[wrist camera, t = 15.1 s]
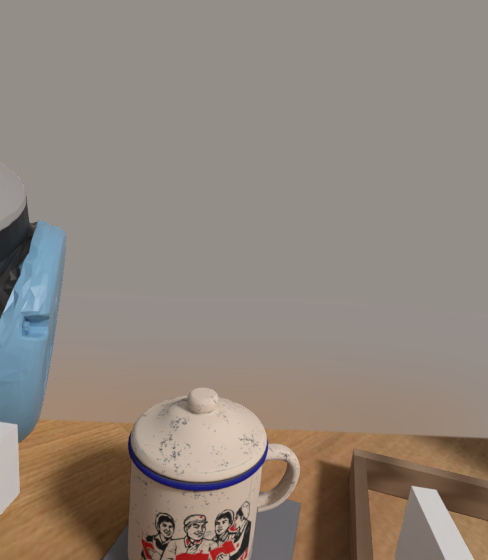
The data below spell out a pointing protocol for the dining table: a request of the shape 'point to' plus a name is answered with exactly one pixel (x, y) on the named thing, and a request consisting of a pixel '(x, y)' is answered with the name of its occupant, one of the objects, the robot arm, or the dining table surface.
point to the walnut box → (404, 492)
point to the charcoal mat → (267, 535)
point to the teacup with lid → (200, 479)
